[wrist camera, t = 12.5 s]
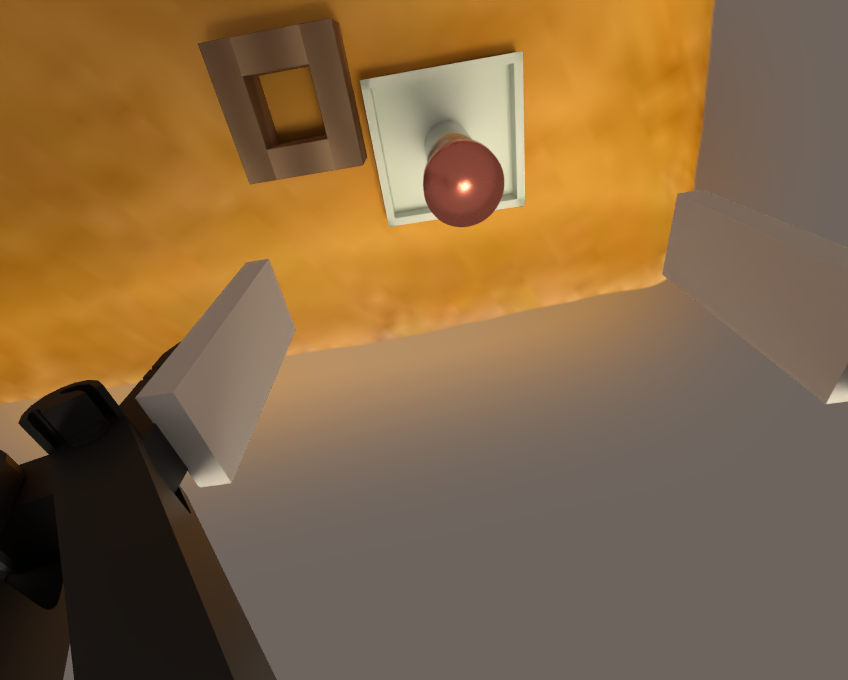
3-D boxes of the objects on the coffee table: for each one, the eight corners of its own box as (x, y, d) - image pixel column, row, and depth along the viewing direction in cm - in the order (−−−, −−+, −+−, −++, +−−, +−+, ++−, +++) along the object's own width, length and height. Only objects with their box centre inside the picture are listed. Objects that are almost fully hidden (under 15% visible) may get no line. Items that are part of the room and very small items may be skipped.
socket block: (263, 174, 39) (249, 184, 35) (218, 46, 33) (197, 43, 30) (367, 156, 38) (363, 165, 35) (339, 23, 33) (330, 18, 29)
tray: (390, 218, 41) (389, 226, 39) (362, 79, 35) (359, 80, 33) (518, 198, 41) (524, 205, 39) (515, 52, 34) (522, 50, 32)
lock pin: (424, 176, 39) (429, 232, 26) (416, 119, 36) (417, 150, 23) (475, 168, 38) (506, 220, 25) (471, 110, 36) (502, 135, 23)
